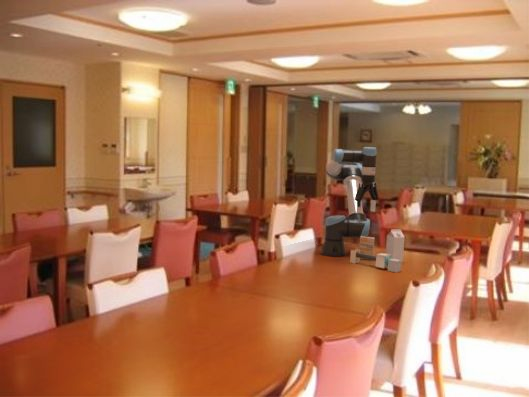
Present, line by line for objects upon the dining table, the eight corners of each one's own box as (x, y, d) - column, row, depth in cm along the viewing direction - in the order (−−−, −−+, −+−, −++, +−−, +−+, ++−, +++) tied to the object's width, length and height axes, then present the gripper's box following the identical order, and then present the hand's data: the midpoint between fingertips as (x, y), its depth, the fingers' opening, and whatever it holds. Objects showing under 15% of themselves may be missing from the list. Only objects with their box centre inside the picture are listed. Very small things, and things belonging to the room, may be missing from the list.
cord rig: (350, 262, 321) (350, 250, 320) (355, 261, 324) (355, 249, 323) (395, 272, 300) (396, 259, 300) (400, 271, 304) (401, 258, 303)
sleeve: (375, 266, 308) (376, 254, 307) (382, 265, 313) (382, 253, 312) (383, 268, 305) (384, 255, 304) (389, 266, 309) (390, 254, 308)
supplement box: (358, 259, 332) (359, 236, 330) (359, 257, 336) (360, 235, 335) (372, 260, 329) (374, 238, 328) (373, 259, 334) (374, 237, 333)
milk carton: (385, 260, 330) (387, 228, 329) (395, 260, 334) (397, 228, 332) (392, 263, 324) (395, 230, 322) (402, 262, 327) (405, 230, 325)
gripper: (361, 175, 307) (358, 214, 309) (386, 174, 325) (383, 211, 327) (349, 174, 312) (347, 212, 314) (375, 173, 330) (372, 210, 332)
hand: (365, 212), depth 321 cm, fingers open, 13 cm apart
